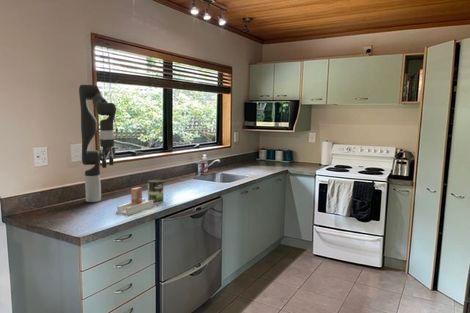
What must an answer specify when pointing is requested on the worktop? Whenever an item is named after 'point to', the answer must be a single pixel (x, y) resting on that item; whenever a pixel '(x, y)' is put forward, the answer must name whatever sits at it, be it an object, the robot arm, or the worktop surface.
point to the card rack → (134, 207)
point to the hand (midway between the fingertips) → (107, 166)
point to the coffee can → (155, 190)
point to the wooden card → (136, 196)
